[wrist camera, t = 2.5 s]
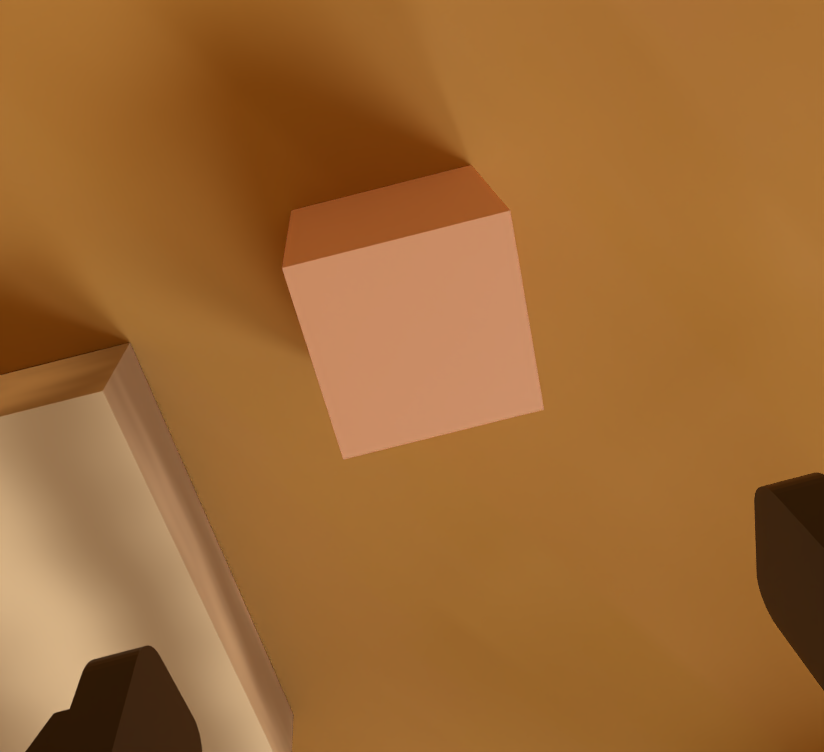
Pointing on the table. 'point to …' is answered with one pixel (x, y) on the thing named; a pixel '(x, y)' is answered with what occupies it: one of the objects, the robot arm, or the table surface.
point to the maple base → (116, 559)
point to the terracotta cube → (413, 310)
